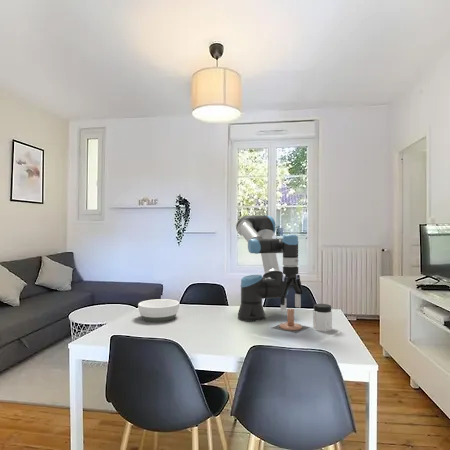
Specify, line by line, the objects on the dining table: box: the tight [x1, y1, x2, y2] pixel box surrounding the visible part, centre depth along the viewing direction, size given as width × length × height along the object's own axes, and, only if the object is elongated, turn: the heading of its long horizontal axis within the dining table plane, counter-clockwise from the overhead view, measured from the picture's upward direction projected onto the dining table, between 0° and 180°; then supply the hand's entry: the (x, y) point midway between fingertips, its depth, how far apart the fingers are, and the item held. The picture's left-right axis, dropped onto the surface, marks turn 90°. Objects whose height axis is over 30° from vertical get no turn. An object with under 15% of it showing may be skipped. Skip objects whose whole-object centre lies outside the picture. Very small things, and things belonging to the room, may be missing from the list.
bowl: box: [137, 298, 180, 323], centre depth 199 cm, size 22×22×8 cm
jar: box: [312, 303, 333, 332], centre depth 175 cm, size 9×8×12 cm
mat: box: [271, 321, 311, 334], centre depth 177 cm, size 14×14×1 cm
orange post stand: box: [278, 308, 302, 331], centre depth 177 cm, size 11×11×9 cm
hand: (290, 309), depth 177 cm, fingers open, 13 cm apart
